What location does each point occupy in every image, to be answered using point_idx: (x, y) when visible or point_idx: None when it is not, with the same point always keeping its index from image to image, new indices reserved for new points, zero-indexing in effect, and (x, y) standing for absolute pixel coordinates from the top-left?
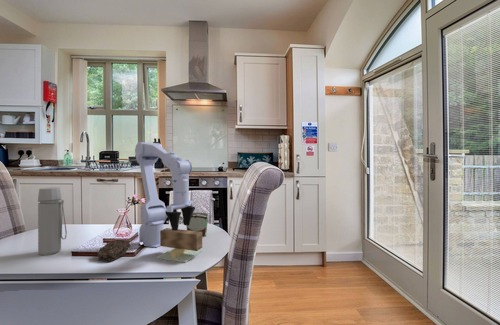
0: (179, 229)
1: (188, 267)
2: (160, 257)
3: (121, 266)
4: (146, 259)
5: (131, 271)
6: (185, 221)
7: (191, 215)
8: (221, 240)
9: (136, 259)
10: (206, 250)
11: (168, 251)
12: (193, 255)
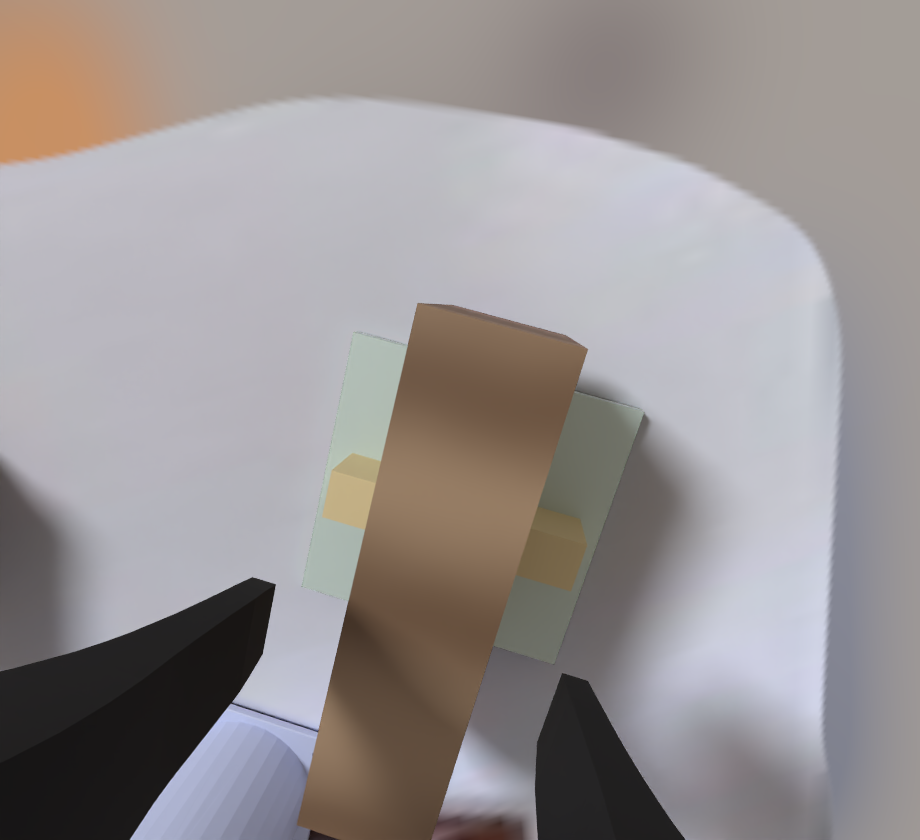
0: (337, 665)
1: (749, 351)
2: (563, 637)
3: (721, 831)
4: None
5: (817, 742)
6: (230, 672)
7: (106, 649)
8: (19, 221)
9: None
10: (323, 302)
11: None
12: None
